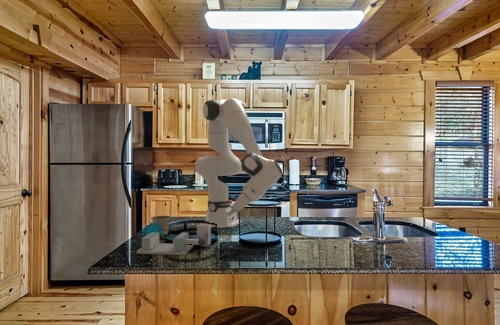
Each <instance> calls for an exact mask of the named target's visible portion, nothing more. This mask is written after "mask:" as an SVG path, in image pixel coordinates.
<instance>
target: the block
mask: <svg viewBox="0 0 500 325" xmlns="http://www.w3.org/2000/svg"><path fill="white" fill-rule="evenodd" d="M211 229H212V227H211V224H205V223H199V224H197V225H196V239H200V238H204V239H205V241H206V243H205V245H203V246H202V247H204V248H207V247H210V245H211V244H212V240H211V238H212V237H211V233H212V230H211ZM202 247H201V248H202Z"/></svg>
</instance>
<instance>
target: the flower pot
mask: <svg viewBox="0 0 500 325" xmlns="http://www.w3.org/2000/svg"><path fill="white" fill-rule="evenodd" d="M170 220H171V216H169V215H155V216H152V217H151V221H152V223H153V225H154V224H155V222H157V223H158V224H157V225H155V226H158V225H159V224H161V227H163V230H162V231H161V230H159V231H160V232H163V231H165V235H164V236H167V235H168V234H169V233H168V232H169V226H170V225H169V224H170ZM153 225H152V226H153ZM161 227H158V228H161Z"/></svg>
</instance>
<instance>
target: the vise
mask: <svg viewBox="0 0 500 325" xmlns="http://www.w3.org/2000/svg"><path fill="white" fill-rule="evenodd" d="M144 236H145V237H144ZM144 236H142V238H141V247H140V248H139V249H137V250H136V254H140V255H141V254H142V255H169V256H186V255H187V254H188V253H189V252H190V251H191V250H192V249H193V247H194V245H187V246H186V247H185V248H184V249H183V250H182V251H174V249H173V243H164V242H163V243H162V242H160V238H159V234H158V232H151V233H150V234H148V235H144Z"/></svg>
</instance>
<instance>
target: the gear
mask: <svg viewBox="0 0 500 325" xmlns="http://www.w3.org/2000/svg"><path fill="white" fill-rule="evenodd" d="M157 224H158V223H157V222H155V224H154V225H153V222H149V225H148V224H145V228H146V229H145V228H144V227H143V228H142V229H141V231H142V232H141V234H140V235H141V236H142V237H145V236H146V235H148V234H150V233H151V232H158V234H159V239H160V237H161V238H162V239H165V237H164V236H166V235H165V231H163V232H160V231H159V230H161V231H162V230H163V227H161V224H159V225H158V226H155V225H157ZM158 227H161V228H158Z"/></svg>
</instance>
